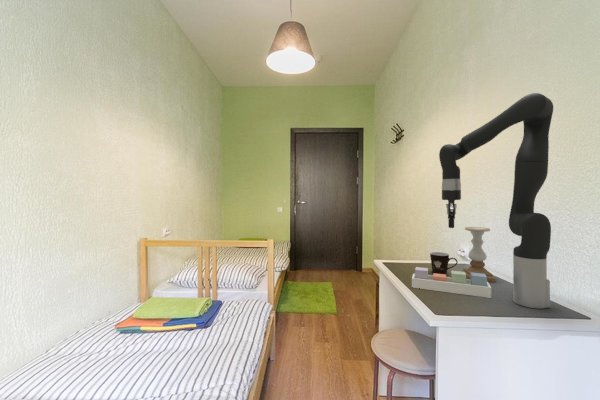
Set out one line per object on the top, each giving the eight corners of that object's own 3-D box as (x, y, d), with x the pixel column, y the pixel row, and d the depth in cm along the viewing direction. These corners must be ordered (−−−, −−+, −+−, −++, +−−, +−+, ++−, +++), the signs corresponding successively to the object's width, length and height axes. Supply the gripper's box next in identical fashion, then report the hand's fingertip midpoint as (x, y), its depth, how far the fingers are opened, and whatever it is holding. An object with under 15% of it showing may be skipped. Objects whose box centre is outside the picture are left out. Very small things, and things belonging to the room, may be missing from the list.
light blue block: (485, 284, 111) (485, 273, 111) (486, 288, 107) (486, 277, 106) (470, 283, 113) (470, 272, 113) (471, 286, 109) (471, 275, 109)
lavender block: (428, 278, 121) (428, 268, 120) (427, 281, 116) (427, 271, 116) (415, 276, 123) (415, 266, 123) (415, 280, 118) (414, 269, 118)
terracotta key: (446, 284, 117) (446, 274, 117) (446, 288, 113) (446, 277, 113) (433, 283, 120) (433, 273, 120) (432, 286, 115) (432, 276, 115)
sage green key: (465, 282, 114) (464, 271, 114) (466, 286, 110) (466, 275, 110) (451, 280, 116) (451, 270, 116) (451, 284, 112) (451, 273, 112)
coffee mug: (426, 272, 140) (426, 253, 140) (437, 270, 144) (437, 251, 144) (446, 278, 130) (446, 257, 130) (458, 276, 133) (458, 255, 133)
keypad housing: (487, 291, 112) (487, 281, 112) (491, 298, 105) (491, 287, 105) (413, 282, 125) (413, 273, 125) (411, 287, 118) (411, 278, 118)
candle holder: (496, 282, 123) (496, 229, 123) (469, 281, 126) (469, 229, 125) (484, 275, 134) (484, 226, 134) (460, 274, 136) (460, 226, 136)
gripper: (441, 189, 130) (441, 226, 130) (441, 189, 118) (442, 229, 118) (459, 189, 127) (459, 226, 127) (462, 188, 115) (462, 229, 115)
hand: (451, 227), depth 123 cm, fingers closed
